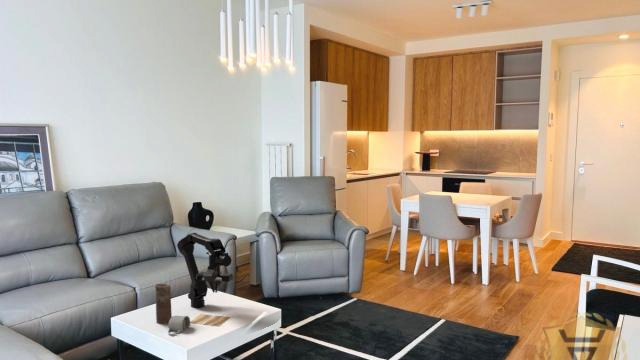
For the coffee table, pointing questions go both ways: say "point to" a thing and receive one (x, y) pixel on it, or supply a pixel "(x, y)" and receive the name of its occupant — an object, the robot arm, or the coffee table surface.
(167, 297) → the candle
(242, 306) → the coffee table surface
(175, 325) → the ceramic mug
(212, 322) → the floor board
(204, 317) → the plank
